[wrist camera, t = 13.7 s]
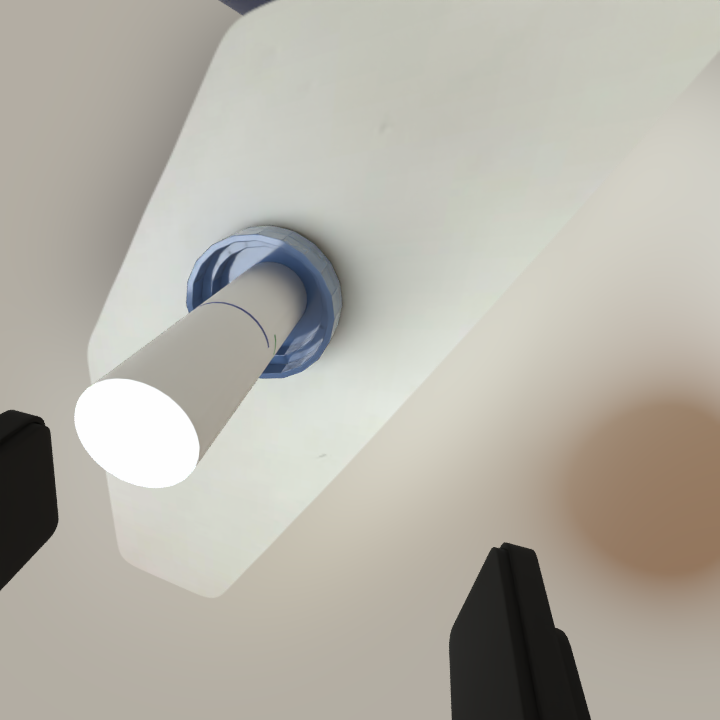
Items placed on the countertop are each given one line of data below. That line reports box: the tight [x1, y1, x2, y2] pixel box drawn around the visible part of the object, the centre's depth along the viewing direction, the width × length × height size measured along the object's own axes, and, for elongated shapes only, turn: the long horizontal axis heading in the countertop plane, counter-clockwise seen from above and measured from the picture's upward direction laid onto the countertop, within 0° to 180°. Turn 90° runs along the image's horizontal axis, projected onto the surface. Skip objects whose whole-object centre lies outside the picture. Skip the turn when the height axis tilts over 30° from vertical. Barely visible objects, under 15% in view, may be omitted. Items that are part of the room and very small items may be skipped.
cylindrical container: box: [74, 262, 307, 488], centre depth 37 cm, size 7×7×25 cm
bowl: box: [186, 225, 342, 379], centre depth 47 cm, size 14×14×5 cm
